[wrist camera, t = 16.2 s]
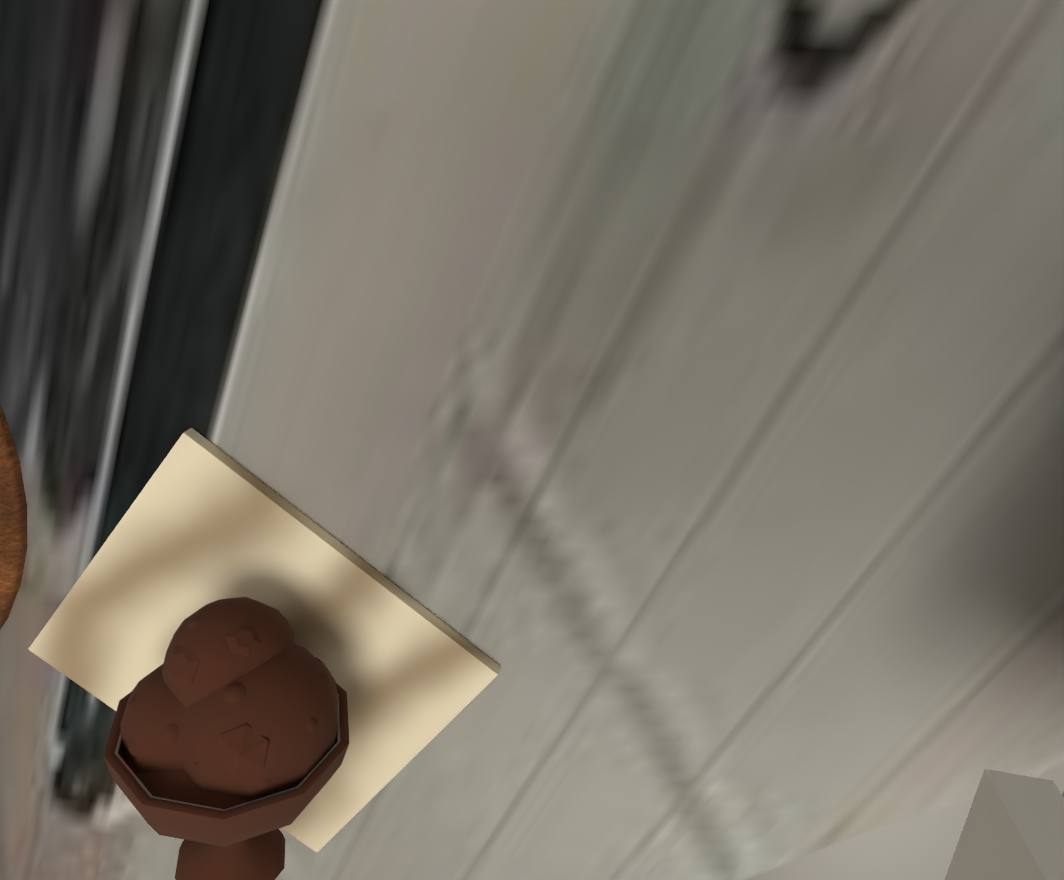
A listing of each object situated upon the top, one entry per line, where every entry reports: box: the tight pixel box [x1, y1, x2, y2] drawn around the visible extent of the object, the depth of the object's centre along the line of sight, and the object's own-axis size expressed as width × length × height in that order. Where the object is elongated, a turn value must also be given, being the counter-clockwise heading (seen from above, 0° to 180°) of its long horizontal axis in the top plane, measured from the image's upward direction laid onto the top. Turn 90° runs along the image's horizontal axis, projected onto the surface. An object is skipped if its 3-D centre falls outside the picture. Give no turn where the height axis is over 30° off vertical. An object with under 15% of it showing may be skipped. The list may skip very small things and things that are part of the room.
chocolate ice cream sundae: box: [104, 597, 349, 880], centre depth 40 cm, size 11×11×15 cm
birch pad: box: [29, 427, 500, 852], centre depth 45 cm, size 20×17×1 cm
